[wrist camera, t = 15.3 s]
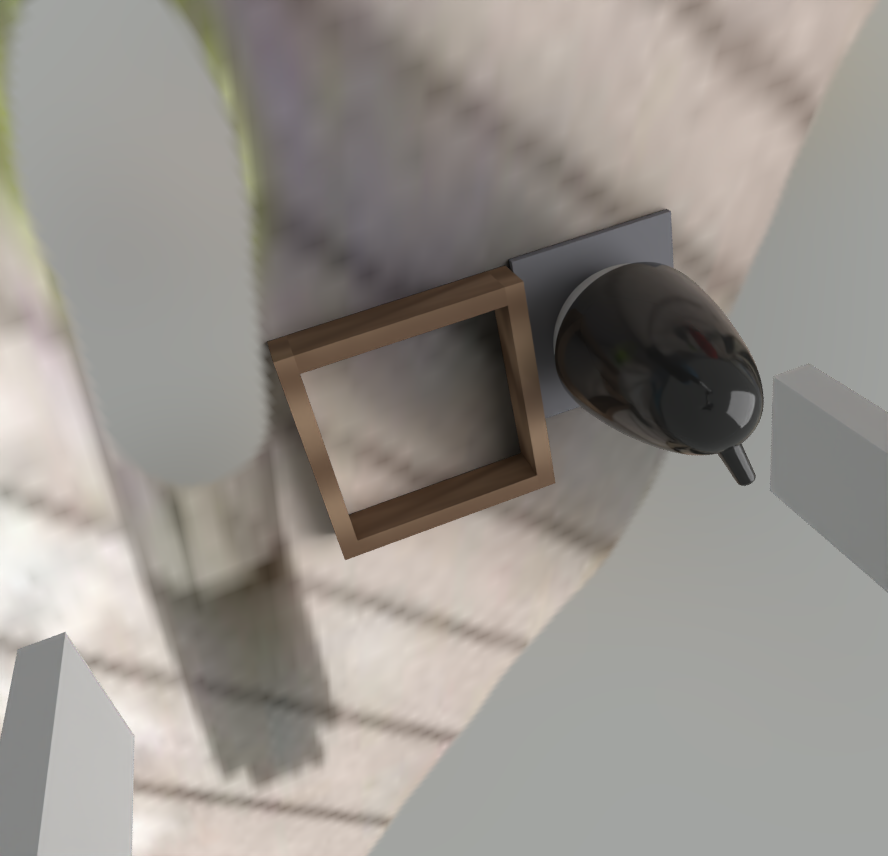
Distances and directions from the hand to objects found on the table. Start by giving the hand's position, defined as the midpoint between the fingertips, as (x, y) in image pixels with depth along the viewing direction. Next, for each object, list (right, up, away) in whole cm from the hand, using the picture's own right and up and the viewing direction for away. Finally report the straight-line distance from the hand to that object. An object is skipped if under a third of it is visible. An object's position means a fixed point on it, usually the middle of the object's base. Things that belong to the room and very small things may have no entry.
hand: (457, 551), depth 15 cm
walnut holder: (-2, +4, +39) cm, 39 cm away
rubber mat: (+10, +10, +40) cm, 42 cm away
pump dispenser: (+10, +10, +40) cm, 42 cm away
